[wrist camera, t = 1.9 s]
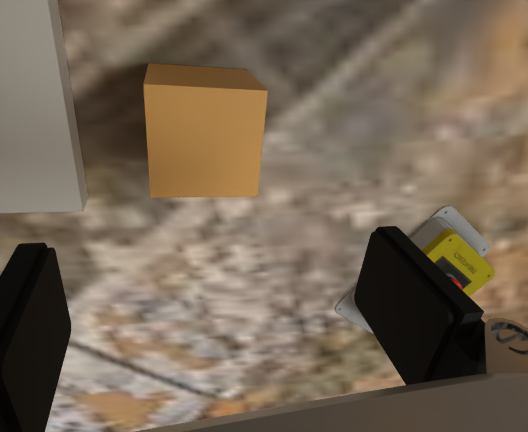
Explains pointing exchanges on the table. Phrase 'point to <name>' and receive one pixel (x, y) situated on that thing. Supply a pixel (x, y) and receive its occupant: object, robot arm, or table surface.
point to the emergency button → (442, 256)
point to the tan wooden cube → (203, 131)
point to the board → (37, 113)
